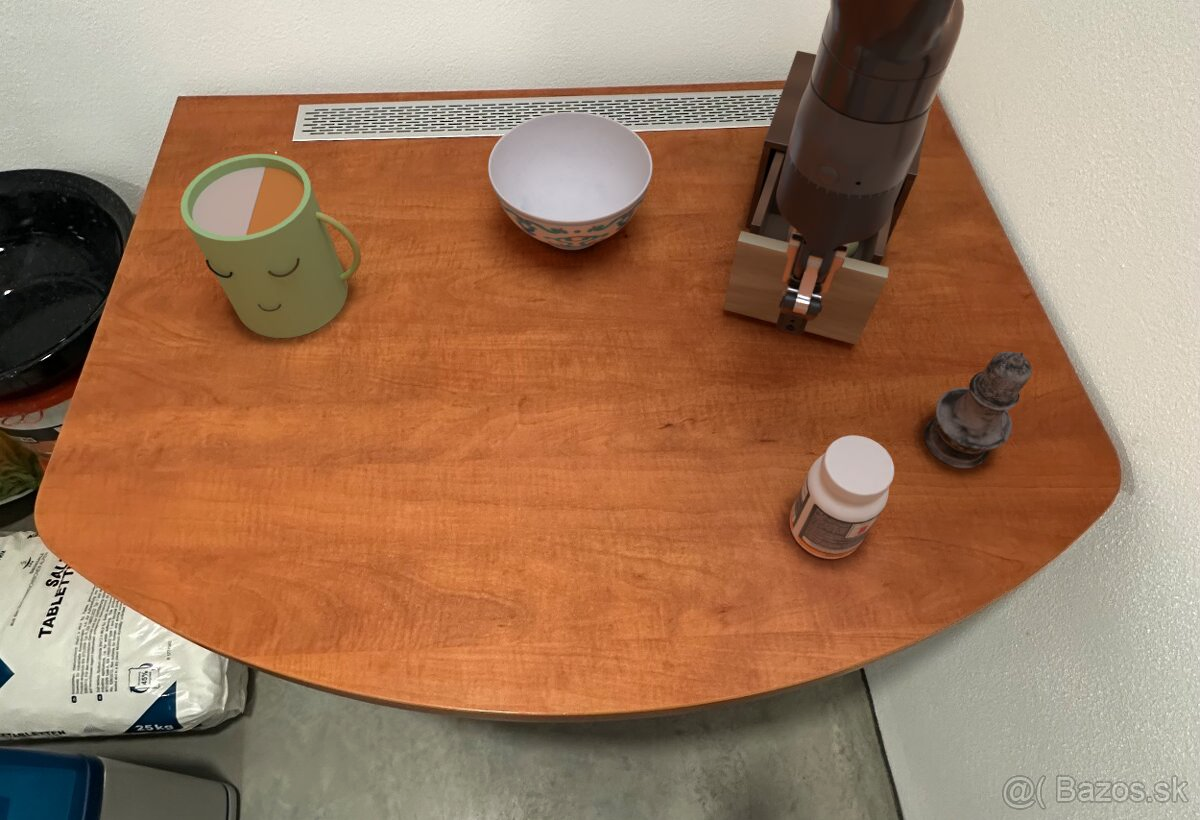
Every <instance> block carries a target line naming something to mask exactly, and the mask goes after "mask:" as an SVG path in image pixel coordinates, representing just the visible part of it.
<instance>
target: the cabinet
mask: <svg viewBox="0 0 1200 820" xmlns="http://www.w3.org/2000/svg"><path fill="white" fill-rule="evenodd" d="M816 55H817V53H812V52H811V53H810V52H805V51H802V50H796V52H795V54H794V58H793V59H792V60H793V61H792V63H791V66H790V68H789V71H788V75H787V78H786V79H785V83H784V86H783V88H782V91H781V93H780V97H779V100H778V103H777V105H776V107H775V110H774V113H773V115H772V116H773V117H772V119H771V122H770V125H769V127H768V130H767V134H766V136H765V137H764V142H763V147H762V152H761V155H760V158H759V159H760V160H759V164H758V169H757V172H756V173H757V174H756V177H755V182H754V187H753V190H752V194H751V195H752V196H751V200H750V204H749V209H748V214H747V217H746V222H745V227H747V228H749V229H750V228H751V223H752V221H753V218H754V215H755V212H756V209H757V206H758V203H759V200H760V197H761V194H762V191H763V188H764V186H765V183H766V180H767V177H768V174H769V171H770V168H771V165H772V162H773V159H774V156H775V153H776V150H781V151H786V152H787V149H788V145H789V141H790V137H791V133H792V130H793V126H794V122H795V118H796V114H797V111H798V108H799V104H800V101H801V99H802V96H803V94H804V92H805V90H806V87H807V85H808V83H809V80H810V77H811V74H812V70H813V66H814V63H815V59H816ZM928 119H929V118H928ZM928 119H927V121H928ZM927 124H928V122H927V123H926V127H925V130H924V134H923V137H922V140H921V142H920V145H919V147H918V149H917V152H916V154H915V156H914V159H913V161H912V163H911V166H910V168H909V170H908V173H907V175H906V178H905V180H904V182H903V185H902V187H901V189H900V192H899V194H898V196H897V199H896V201H895V204H894V209H893V213H892V218H891V223H890V228H889V233H888V237H887V242H886V247H887V245H888V243H889V240H890V238H891V236H892V234H893V231H894V229H895V227H896V224H897V222H898V220H899V218H900V216H901V214H902V211H903V208H904V206H905V204H906V202H907V199H908V197H909V194H910V193H911V191H912V188H913V186H914V183H915V181H916V179H917V176H918V172H919V167H920V162H921V157H922V152H923V146H924V142H925V141H924V140H925V137H926V136H925V135H926V130H927ZM886 247H885V249H886Z"/></svg>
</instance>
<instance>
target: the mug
mask: <svg viewBox="0 0 1200 820" xmlns="http://www.w3.org/2000/svg"><path fill="white" fill-rule="evenodd" d="M180 213H181V216H182V219H183V221H184V223H185V225H186V227H187V229H188V231H189V232H190V234H191V235H192V237H193V239H194V240H195V242H196V245H197V246H198V247H199V249H200V251H201V253H202V255H203V256H204V258H205V263H206V266H207V268H208V270H210V271H211V272H212V273H213V274H214V276H215V278H216V280H217V281H218V283H219V285H220V286H221V287H222V290H223V292H224V293H225V295H226V297H227V299H228V300H229V302H230V304H231V306H232V308H233V310H234V311H235V313H236V315H237V316H238V318H239V320H240V321H241V322H242V323H243V325H244V326H245V327H246V328H248V329H249V330H250V331H252V332H254V333H255V334H257V335H260V336H263V337H267V338H273V339H290V338H297V337H302V336H304V335H308V334H311V333H313V332H315V331H317V330H319V329H321V328H323V327H324V326H326V325H328V323H330V322H331V321H332V320H333V319H334V318H336V316H337V315H338V314H339V313H340V312H341V310H342V309H343V307H344V306H345V303H346V301H347V298H348V292H349V285H348V280H349V279H350V278H351V277H352V276H353V275H355V273H357V271H358V269H359V268H360V265H361V262H362V253H361V248H360V246H359V243H358V241H357V239H356V238H355V235H353V233H352V232H351V231H350V230H349V229H348V228H347V227H346V226H345V225H344V224H342V223H341V222H340V221H338V220H337V219H335V218H333V217H331V216H329V215H328V214H326V213H323V212H322V210H321V207H320V204H319V201H318V199H317V196H316V193H315V191H314V188H313V185H312V183H311V180H310V177H309V175H308V173H307V172H306V170H305V169H304V168H303V167H302V166H301V165H300V164H298V163H297V162H296V161H293V160H291V159H289V158H287V157H284V156H281V155H276V154H269V153H252V154H251V153H249V154H243V155H239V156H238V155H237V156H234V157H231V158H227V159H224V160H222V161H220V162H217V163H215V164H213V165H211V166H210V167H207V168H206V169H205V170H203V171H202V172H201V173H199V174H198V175H196V177H194V179H193V180H192V181H191V182H190V183H189V184H188V185H187V187H186V188H185V190H184V192H183V194H182V196H181V201H180ZM327 224H328V225H329V226H331V227H332V228H334V229H336V230H337V231H338V232H339V233H340V234H341V235H342V236H343V237H344V238H345V239H346V241H347V243H349V246H350V247H351V250H352V254H353V259H352V262H351V265H350V267H349V268H348V269H347V270H345V271H344V269H343V266H342V264H341V261H340V258H339V255H338V253H337V250H336V247H335V244H334V242H333V240H332V239H333V238H332V237H331V234H330V231H329V229H328V226H327Z"/></svg>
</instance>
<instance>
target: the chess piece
mask: <svg viewBox="0 0 1200 820" xmlns="http://www.w3.org/2000/svg"><path fill="white" fill-rule="evenodd" d="M1032 373H1033V368H1032V365H1031V363H1030V361H1029V360H1028V359H1027V358H1026V356H1025V354H1024V353H1023V352H1015V351H1002V352H999V353H997V354H995V355H994V356H993V357H992V358H991V360H989V362H988V363H987V365H986V366H985V368H984V369H983V370H982V371H980V372H977V373H975V374H974V375H973V376H972V377H971V378H970V380H969V383H968V385H969V387H965V386H964V387H955V388H951V389H949V390H948V391H946V392H944V393H943V394H942V395H941V396H940V397H939V399H938V400H937V402H936V406H935V416H934V417H933V418H931V419H930V420H929V421H928V422H927V424H926V425H925V429H924V433H923V434H924V435H923V436H924V442H925V445H926V446H927V448H928V450H929V452H930V453H931V454H932V455H933V456H934V457H935V458H936V459H937V460H939V461H940V462H942V463H944V464H945V465H947V466H949V467H953V468H956V469H972V468H976V467H978V466H979V465H981V464H983V463H984V462H985V461H986V459H987V458H988V457H989V455H990V451H991V450H995V449H997V448H1000V447H1001V446H1002V445H1004V444H1005V443H1006V442H1007V441H1008V440H1009V438H1010V437H1011V434H1012V431H1013V423H1012V419H1011V415H1010V413H1009V411H1008V410H1011V409H1013V408H1014V407H1015V406H1016V405H1017V404H1018V403H1019V400H1020V392H1021V390H1022V389H1023V388H1024V386H1025V385H1026V384H1027V383H1028V381H1029V380H1030V379H1031V376H1032Z"/></svg>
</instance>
